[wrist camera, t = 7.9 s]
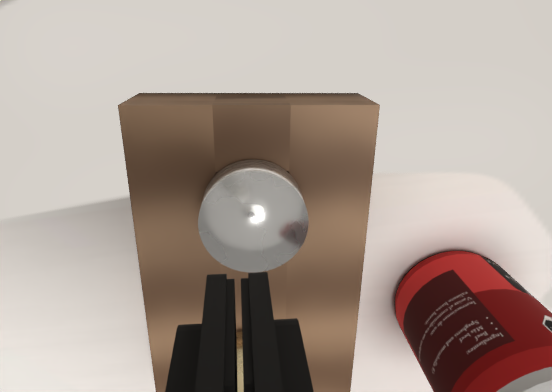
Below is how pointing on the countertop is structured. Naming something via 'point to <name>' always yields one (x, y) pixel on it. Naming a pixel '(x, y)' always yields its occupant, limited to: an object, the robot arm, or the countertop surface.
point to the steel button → (253, 216)
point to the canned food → (474, 326)
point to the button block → (261, 146)
